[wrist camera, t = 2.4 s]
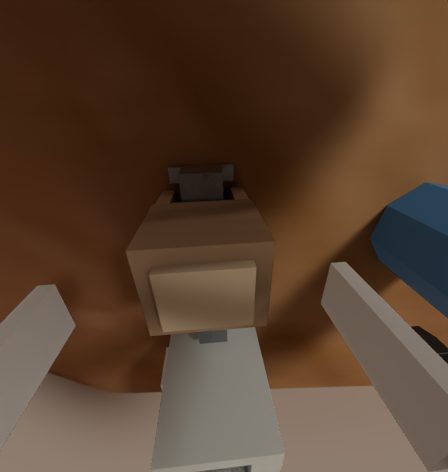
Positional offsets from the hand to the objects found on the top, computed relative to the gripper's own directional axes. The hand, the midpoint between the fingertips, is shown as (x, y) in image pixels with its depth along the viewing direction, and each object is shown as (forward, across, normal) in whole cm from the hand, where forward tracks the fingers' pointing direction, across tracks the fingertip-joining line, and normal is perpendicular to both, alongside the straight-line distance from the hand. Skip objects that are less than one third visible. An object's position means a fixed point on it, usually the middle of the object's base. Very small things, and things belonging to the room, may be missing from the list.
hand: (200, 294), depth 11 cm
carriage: (+10, 0, 0) cm, 10 cm away
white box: (+10, 0, -18) cm, 21 cm away
